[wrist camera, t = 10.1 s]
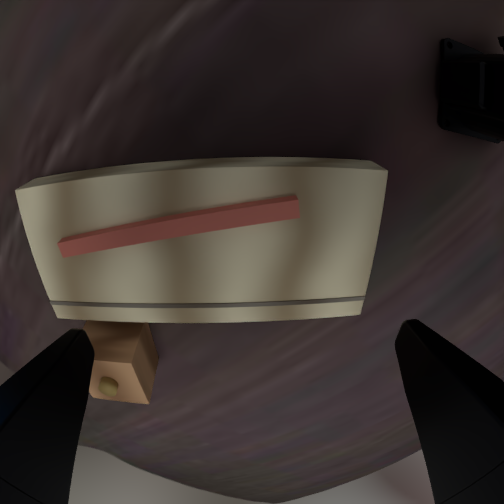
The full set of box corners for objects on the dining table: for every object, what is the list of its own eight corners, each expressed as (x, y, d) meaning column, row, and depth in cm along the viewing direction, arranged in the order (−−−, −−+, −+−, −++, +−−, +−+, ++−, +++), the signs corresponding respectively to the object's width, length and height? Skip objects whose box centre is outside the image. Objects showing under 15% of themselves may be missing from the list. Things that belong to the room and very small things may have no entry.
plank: (371, 160, 17) (388, 171, 15) (350, 294, 22) (360, 315, 20) (34, 178, 16) (14, 190, 14) (69, 299, 21) (57, 318, 19)
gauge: (146, 314, 22) (128, 372, 17) (158, 357, 25) (147, 412, 20) (90, 312, 22) (65, 365, 17) (108, 354, 25) (90, 405, 19)
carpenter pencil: (295, 195, 16) (298, 199, 15) (297, 212, 16) (299, 217, 16) (62, 238, 16) (56, 243, 15) (67, 252, 17) (63, 257, 16)
